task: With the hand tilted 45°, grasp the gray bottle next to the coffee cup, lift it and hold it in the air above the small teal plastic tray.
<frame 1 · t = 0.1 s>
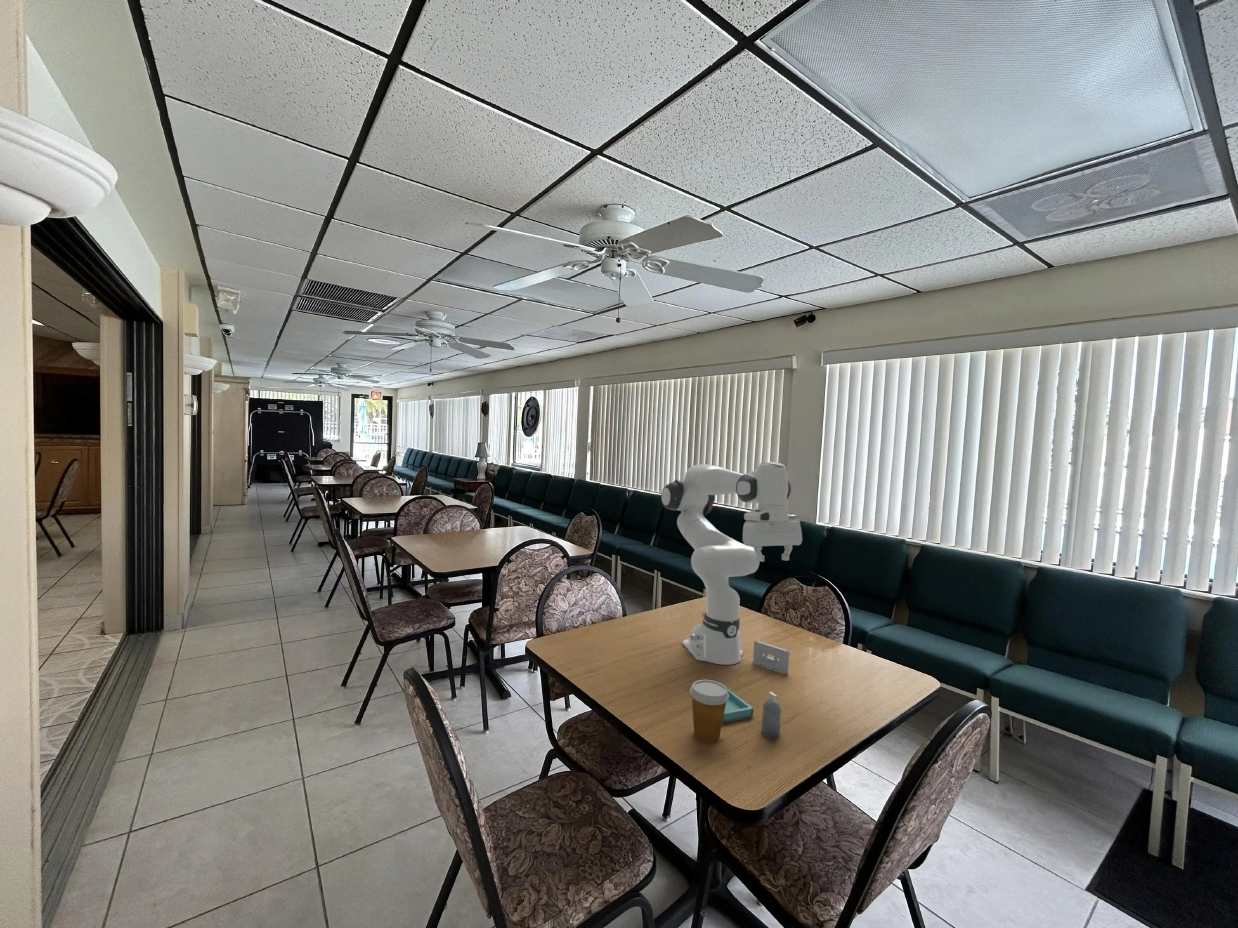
hand: (773, 560, 151), 39 cm above the table, tool pointing down, fingers open, 8 cm apart
tray: (724, 708, 137), on the table
gray bottle: (770, 733, 126), on the table
disposable coffee cup: (706, 735, 124), on the table
cassette: (770, 669, 166), on the table
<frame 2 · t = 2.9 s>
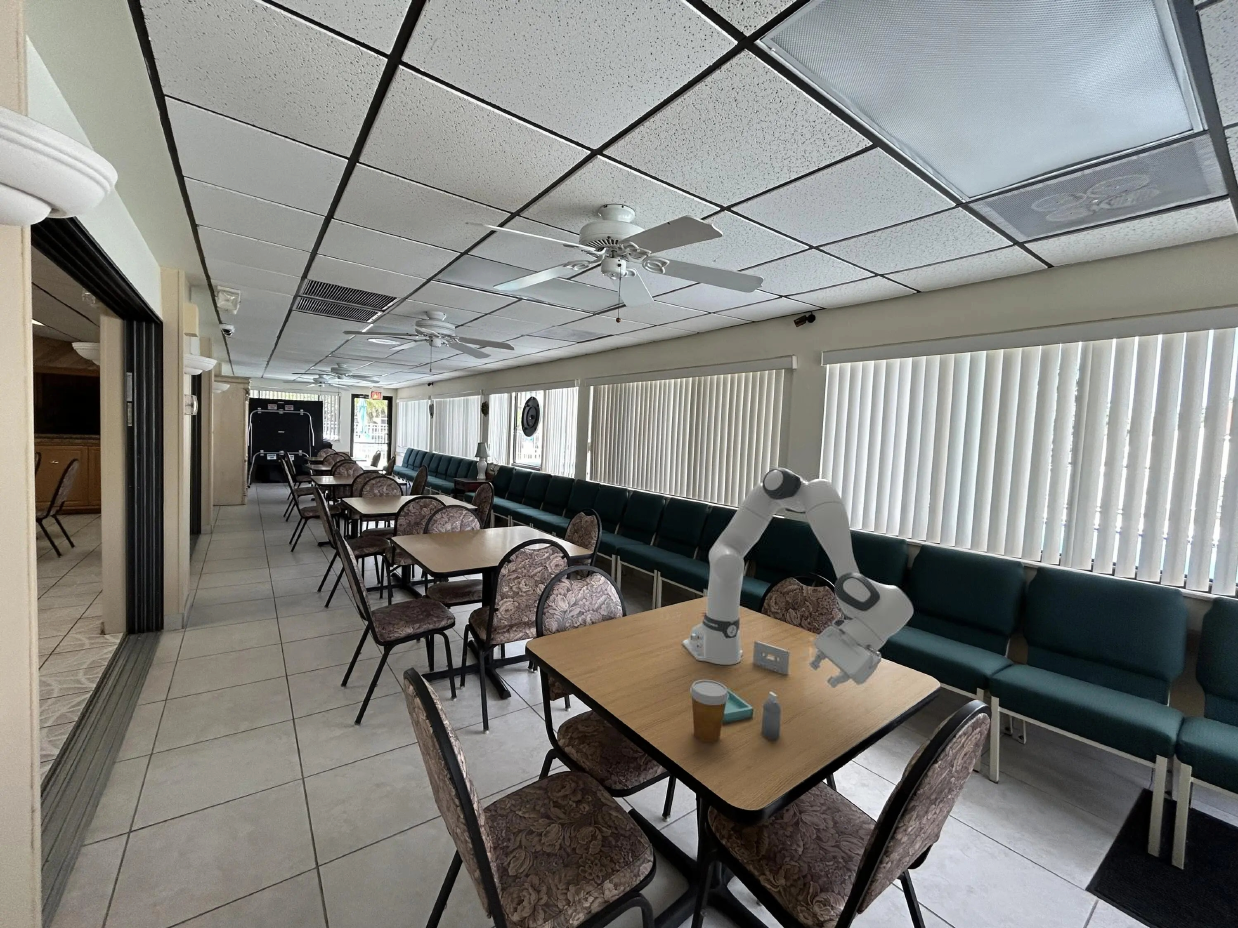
hand: (820, 675, 127), 15 cm above the table, tool tilted 45°, fingers open, 8 cm apart
nothing on the table moved.
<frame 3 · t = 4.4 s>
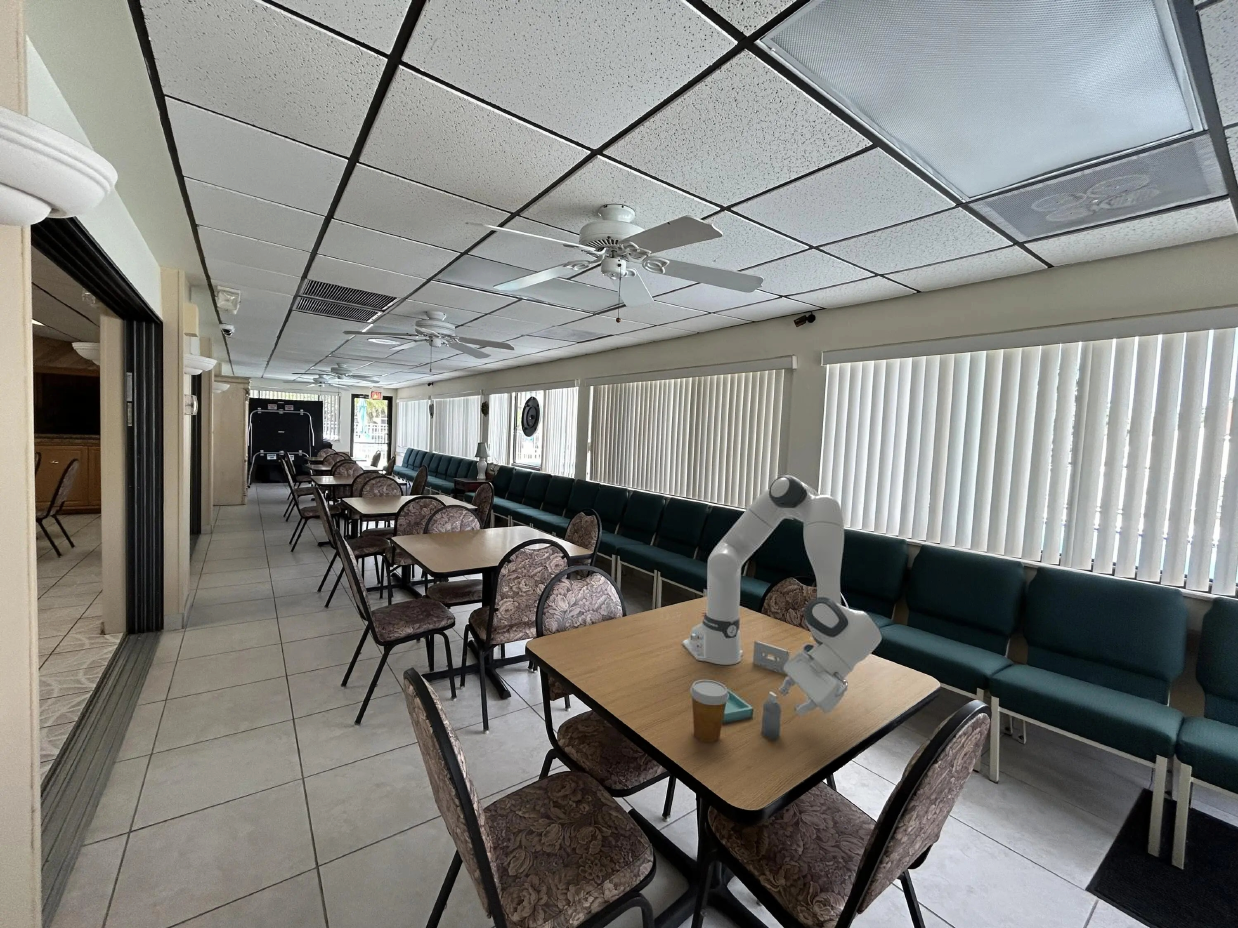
hand: (788, 702, 126), 9 cm above the table, tool tilted 45°, fingers open, 8 cm apart
nothing on the table moved.
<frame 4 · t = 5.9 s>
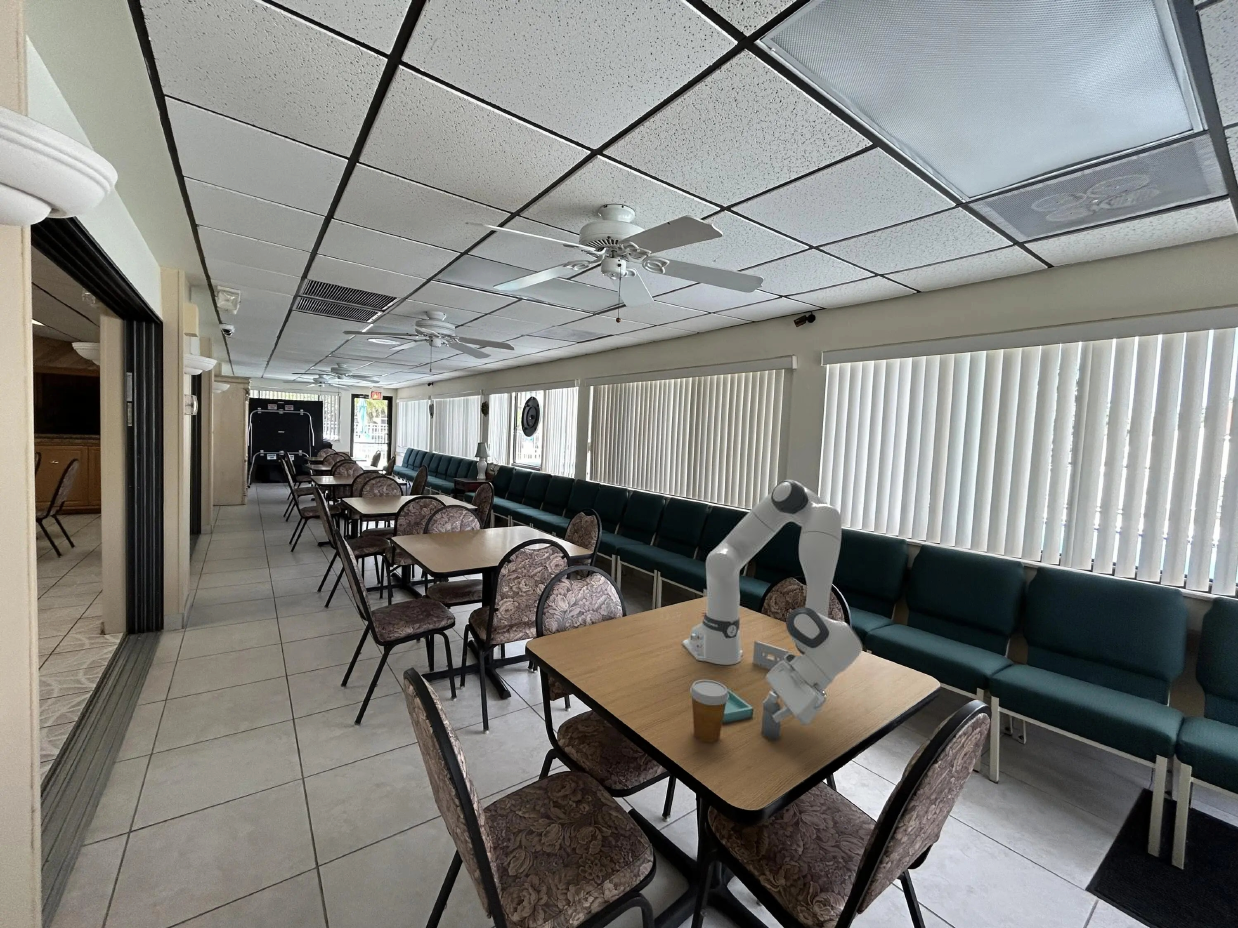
hand: (769, 712, 126), 5 cm above the table, tool tilted 45°, fingers closed on gray bottle, 4 cm apart
gray bottle: (770, 733, 126), on the table, touching gripper
everything else where it was.
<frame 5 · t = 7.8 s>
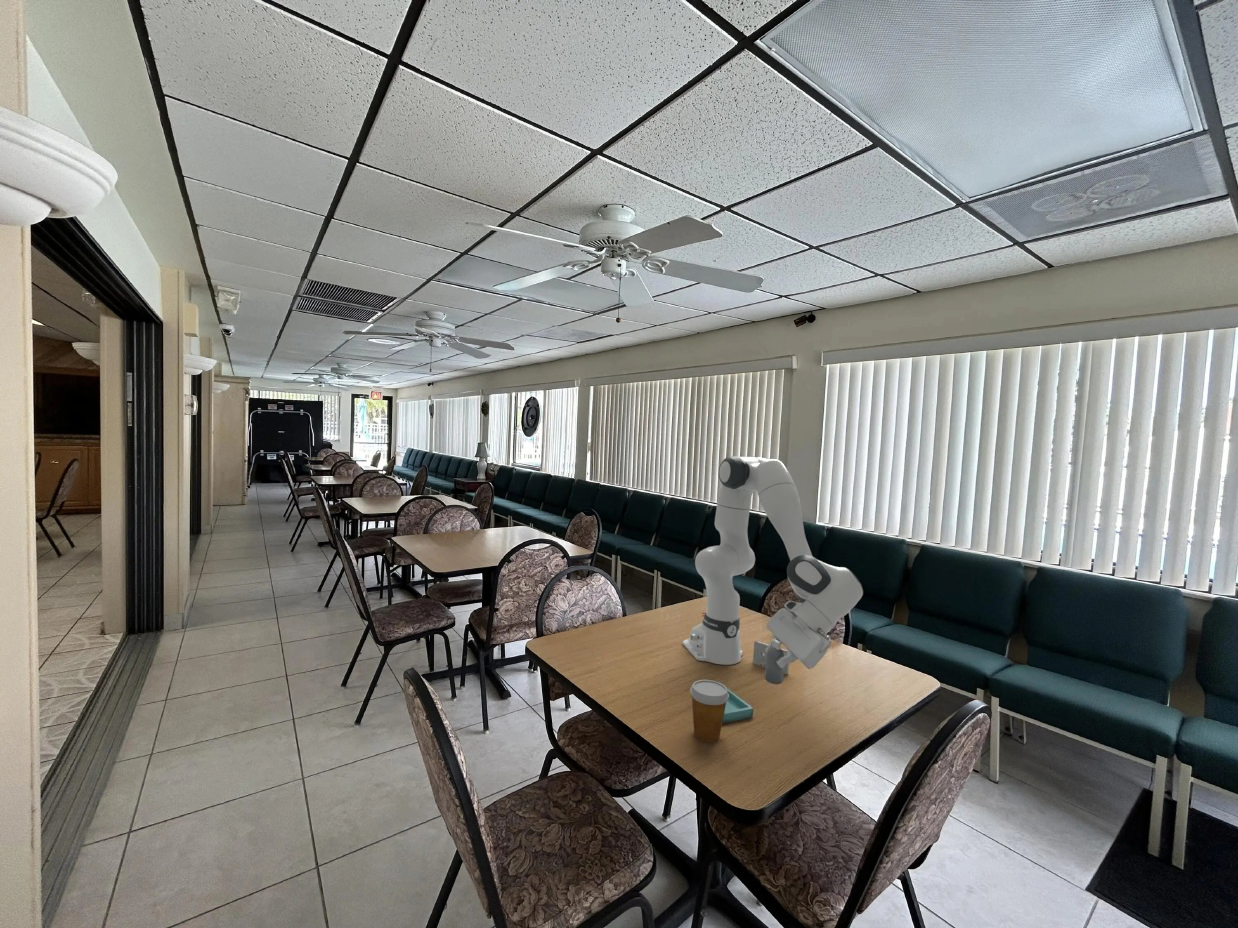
hand: (772, 659, 127), 19 cm above the table, tool tilted 45°, fingers closed on gray bottle, 4 cm apart
gray bottle: (773, 679, 128), point 13 cm above the table, touching gripper
everything else where it was.
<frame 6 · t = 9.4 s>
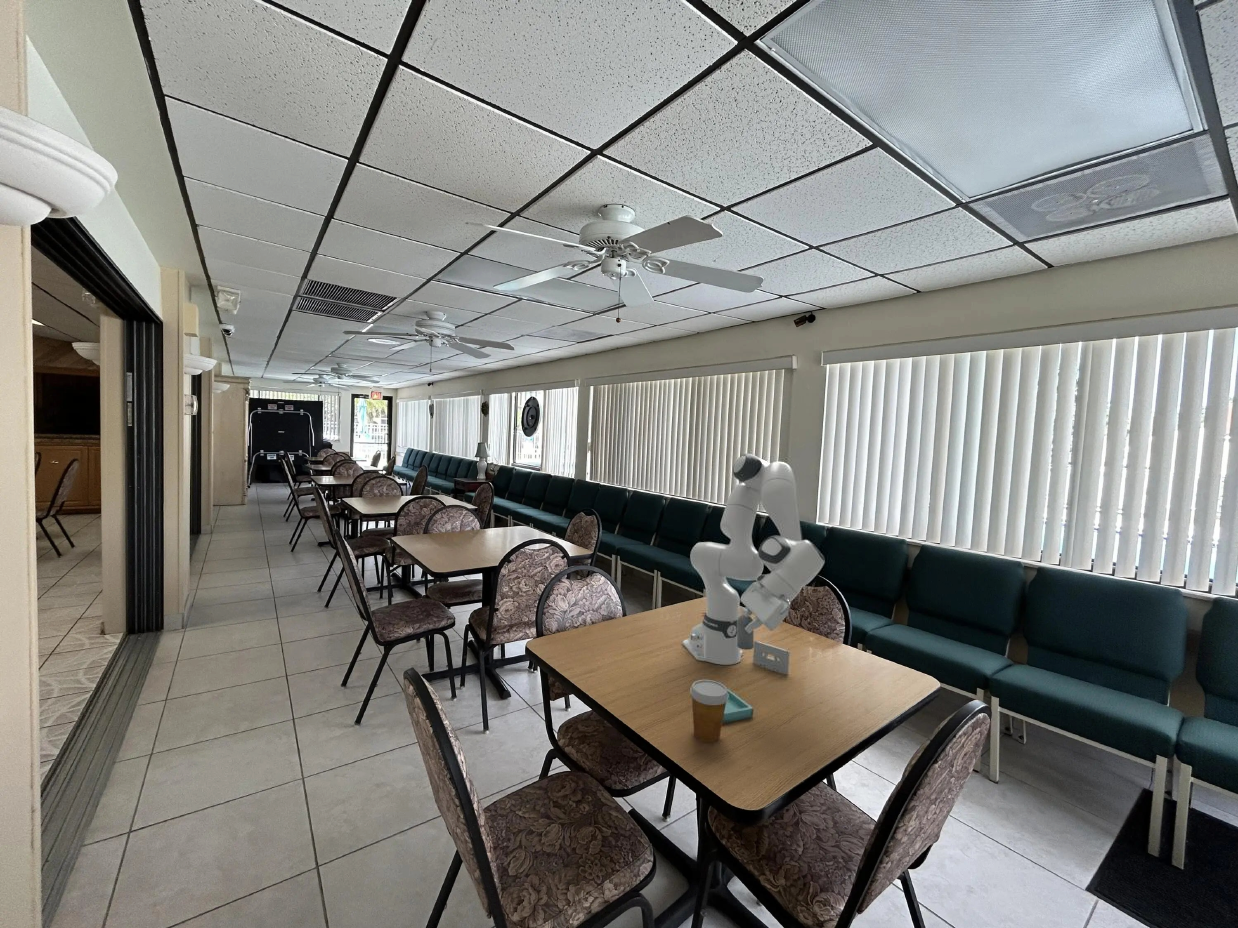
hand: (742, 626, 137), 23 cm above the table, tool tilted 40°, fingers closed on gray bottle, 4 cm apart
gray bottle: (745, 646, 137), point 18 cm above the table, touching gripper
everything else where it was.
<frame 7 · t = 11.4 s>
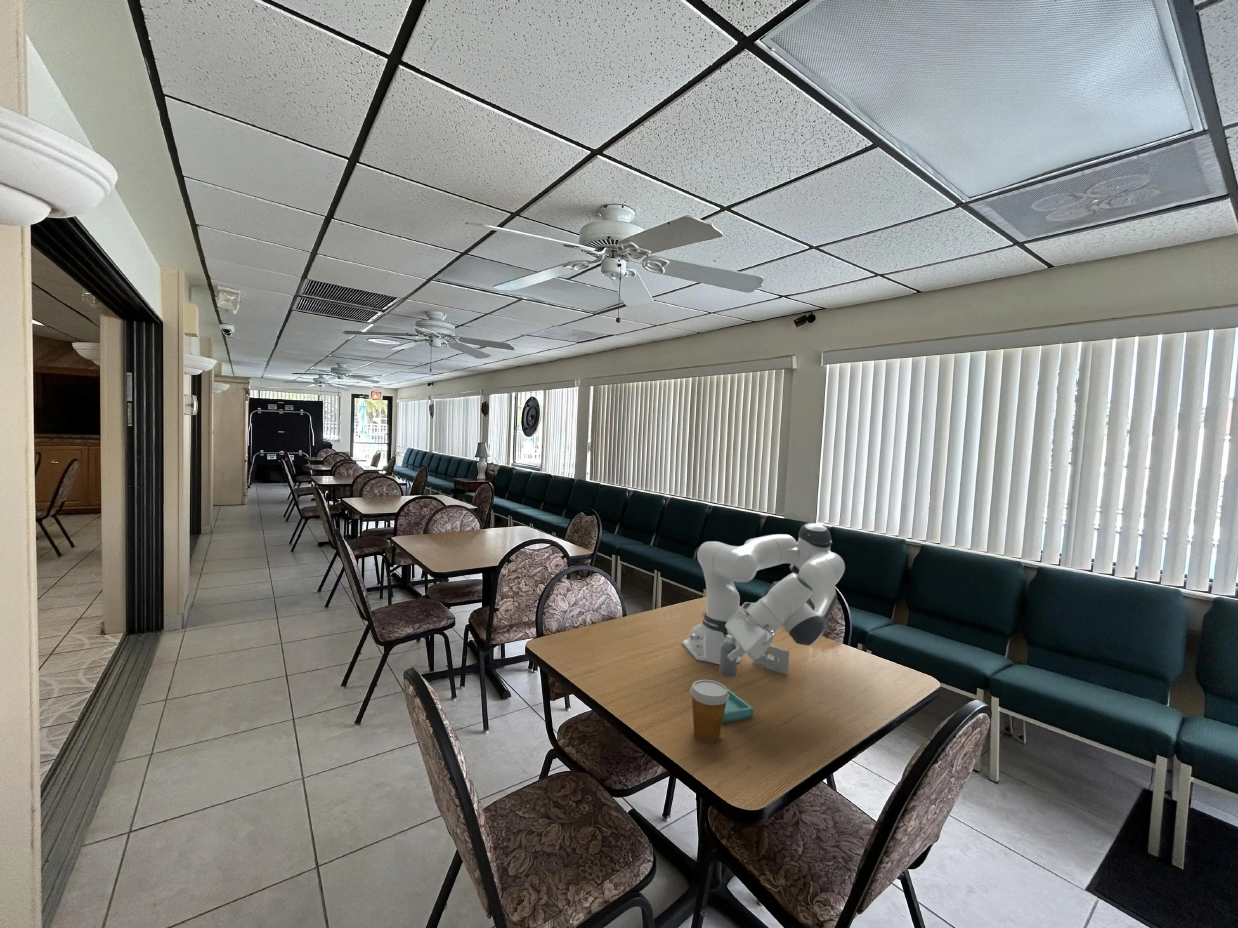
hand: (725, 653, 137), 15 cm above the table, tool tilted 45°, fingers closed on gray bottle, 4 cm apart
gray bottle: (727, 673, 137), point 10 cm above the table, touching gripper
everything else where it was.
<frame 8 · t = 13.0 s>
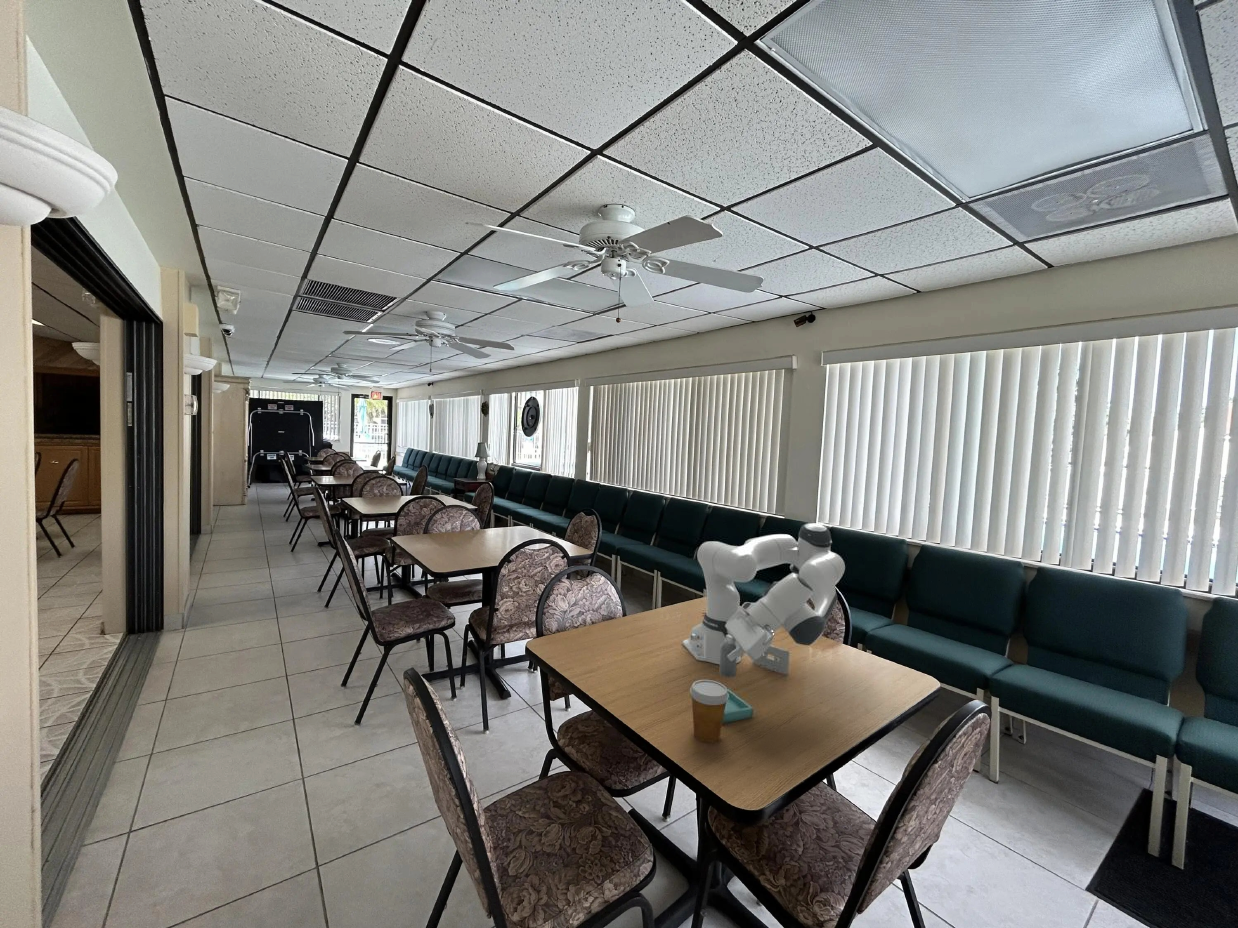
hand: (725, 653, 137), 15 cm above the table, tool tilted 45°, fingers closed on gray bottle, 4 cm apart
gray bottle: (727, 673, 137), point 10 cm above the table, touching gripper
everything else where it was.
at the end: the gripper is holding gray bottle; gray bottle point 10.0 cm above the table; gray bottle inside the target area on the tray (0.2 cm from its centre), point 10.0 cm above the tray's base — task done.
